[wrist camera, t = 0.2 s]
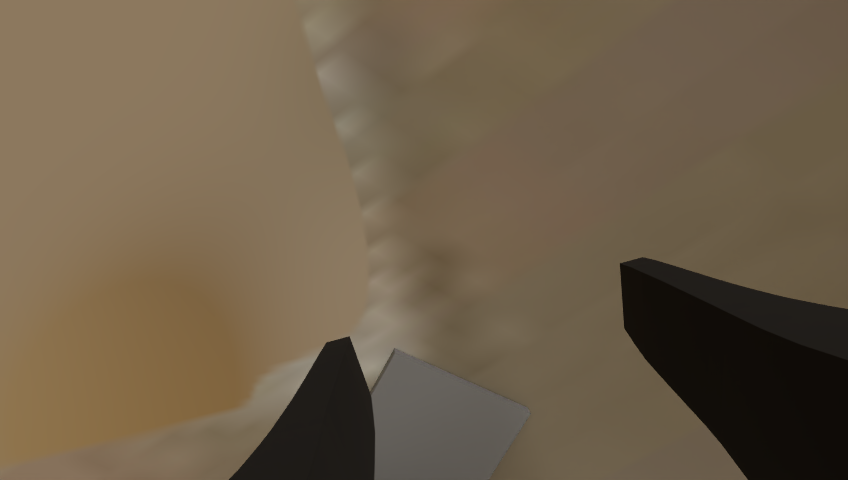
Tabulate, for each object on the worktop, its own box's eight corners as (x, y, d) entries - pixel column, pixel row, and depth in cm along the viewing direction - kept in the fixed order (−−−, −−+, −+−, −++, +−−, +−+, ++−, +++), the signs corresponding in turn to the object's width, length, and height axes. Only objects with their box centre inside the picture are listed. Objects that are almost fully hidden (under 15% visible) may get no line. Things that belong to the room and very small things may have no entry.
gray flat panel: (447, 535, 26) (448, 542, 26) (317, 487, 25) (316, 494, 25) (527, 407, 25) (530, 413, 24) (394, 348, 23) (394, 353, 23)
